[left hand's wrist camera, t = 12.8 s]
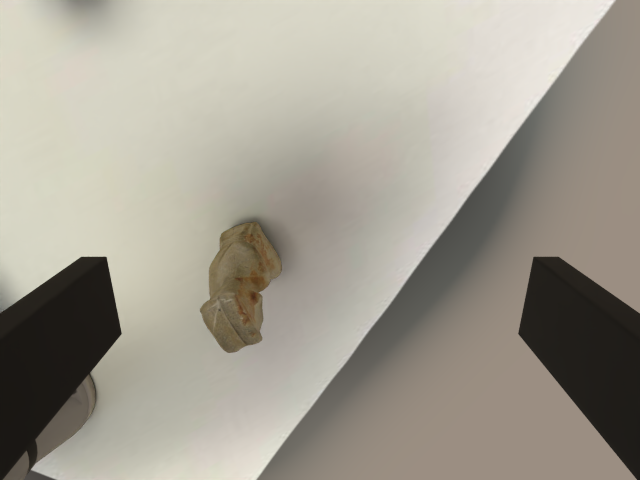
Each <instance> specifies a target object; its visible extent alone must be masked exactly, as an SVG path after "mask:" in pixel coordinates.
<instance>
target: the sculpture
mask: <svg viewBox="0 0 640 480" xmlns="http://www.w3.org/2000/svg"><path fill="white" fill-rule="evenodd" d="M281 270H282V265H281V261H280V258H279V256H278V255H277V253H276V251H275V250H274V248H273V247H272V245H271V244H270V242H269V241H268V240H267V238H266V237H265V235H264V234H263V232H262V230H261V227H260V225H259V224H258V223H257V222H252V223H244V224H241V225H238V226H236V227H233V228H231V229H229V230H227V231H225V232H223V233H222V234H221V237H220V251H219V252H218V254H217V255H216V257H215V258H214V260H213V262H212V263H211V265H210V268H209V291H210V300H209V301H207V302H206V303H204V304H203V306H202V307H201V309H200V312H201V314H202V317H203V320H204V322H205V324H206V326H207V328H208V329H209V331H210V332H211V333H212V335H213V336H214V337H215V339H216V340H217V342H218V343H219V345H220V347H221V348H222V349H223V350H225V351H226V352H227V353H232V352H237V351H238V350H240V349H241V348H243V347H245V346H248V345H253V344H256V343H259V342H260V341H262V336H261V334H260V329H261V324H262V322H263V312H262V295H261V294H259V292H260V291H262V290H264V289H265V288H266V287H267V286H268V285H269V283H270V280H271V279H274V278H276V277H278V276H279V275H280V273H281Z"/></svg>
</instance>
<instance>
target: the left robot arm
mask: <svg viewBox="0 0 640 480" xmlns="http://www.w3.org/2000/svg"><path fill="white" fill-rule="evenodd" d="M121 334H122V333H121V328H120V323H119V318H118V313H117V308H116V303H115V298H114V293H113V288H112V283H111V278H110V272H109V267H108V262H107V257H81V258H79V259H78V260H76V261H75V262H73V263H72V264H71V265H69V266H68V267H66V268H65V269H63V270H62V271H61V272H59V273H58V274H56V275H55V276H53V277H52V278H50V279H49V280H48V281H46V282H45V283H43V284H42V285H40V286H39V287H38V288H36V289H35V290H33V291H32V292H30V293H29V294H28V295H26V296H25V297H23V298H22V299H20V300H19V301H18V302H16V303H15V304H13V305H12V306H10V307H9V308H8V309H6V310H5V311H3V312H2V313H0V480H23V479H24V478H25V476H26V475H27V474H28V472H29V471H30V470H31V468H32V467H33V466H34V465H35V463H37V462H38V461H39V460H41V459H42V458H43V457H45V456H46V455H47V454H49V453H50V452H51V451H53V450H54V449H55V448H57V447H58V446H59V445H61V444H62V443H64V442H65V441H66V440H68V439H69V438H70V437H72V436H73V435H74V434H75V433H76V432H77V431H78V430H79V429H80V428H81V427H82V426H83V425H84V423H85V422H86V420H87V419H88V418H89V416H90V415H91V413H92V411H93V408H94V405H95V388H94V384H93V382H92V379H91V377H90V375H89V373H90V372H91V371H92V370H93V368H94V367H95V366H96V365H97V363H98V362H99V361H100V360H101V359H102V357H103V356H104V355H105V354H106V352H107V351H108V350H109V349H110V348H111V346H112V345H113V344H114V343H115V341H116V340H117V339H118V338H119V336H120V335H121ZM518 334H519V335H520V336H521V338H522V339H523V340H524V341H525V343H526V344H527V345H528V346H529V347H530V349H531V350H532V351H533V352H534V354H535V355H536V356H537V357H538V359H539V360H540V361H541V362H542V363H543V365H544V366H545V367H546V368H547V370H548V371H549V372H550V373H551V374H552V376H553V377H554V378H555V379H556V381H557V382H558V383H559V384H560V386H561V387H562V388H563V389H564V390H565V392H566V393H567V394H568V395H569V397H570V398H571V399H572V400H573V402H574V403H575V404H576V405H577V406H578V408H579V409H580V410H581V411H582V413H583V414H584V415H585V416H586V417H587V419H588V420H589V421H590V422H591V424H592V425H593V426H594V427H595V429H596V430H597V431H598V432H599V433H600V435H601V436H602V437H603V438H604V440H605V441H606V442H607V443H608V444H609V446H610V447H611V448H612V449H613V451H614V452H615V453H616V454H617V456H618V457H619V458H620V459H621V460H622V462H623V463H624V464H625V465H626V467H627V468H628V469H629V470H630V472H631V473H632V474H633V475H634V476H635V478H636V479H637V480H640V313H638V312H637V311H635V310H634V309H632V308H631V307H630V306H628V305H627V304H625V303H624V302H622V301H621V300H620V299H618V298H617V297H615V296H614V295H612V294H611V293H610V292H608V291H607V290H605V289H604V288H602V287H601V286H600V285H598V284H597V283H595V282H594V281H592V280H591V279H590V278H588V277H587V276H585V275H584V274H582V273H581V272H579V271H578V270H577V269H575V268H574V267H572V266H571V265H569V264H568V263H567V262H565V261H564V260H562V259H561V258H559V257H534V258H533V263H532V267H531V272H530V278H529V283H528V288H527V293H526V298H525V303H524V308H523V313H522V318H521V323H520V328H519V333H518Z"/></svg>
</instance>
